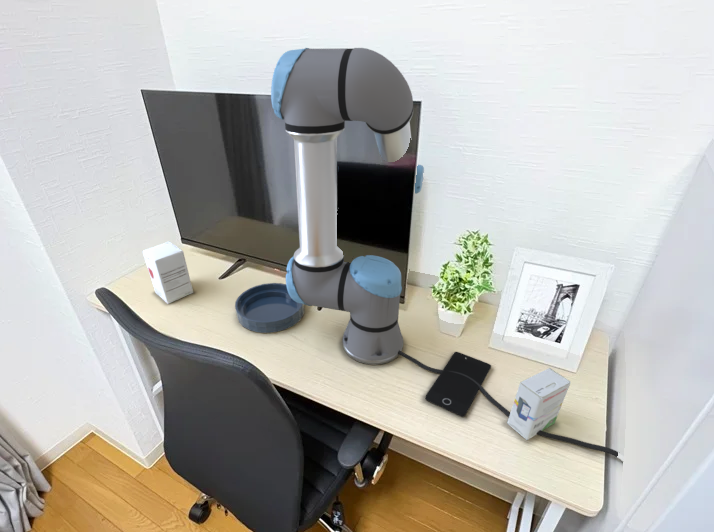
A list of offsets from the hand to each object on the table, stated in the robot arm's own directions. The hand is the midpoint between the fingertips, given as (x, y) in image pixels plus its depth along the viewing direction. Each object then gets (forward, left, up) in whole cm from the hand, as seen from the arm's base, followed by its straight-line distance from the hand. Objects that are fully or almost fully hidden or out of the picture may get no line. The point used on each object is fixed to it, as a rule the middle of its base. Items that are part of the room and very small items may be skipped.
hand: (316, 289), depth 123 cm
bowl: (+6, +13, -3) cm, 15 cm away
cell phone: (-48, +8, -3) cm, 49 cm away
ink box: (-64, +10, -3) cm, 65 cm away
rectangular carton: (+38, +23, -3) cm, 45 cm away
